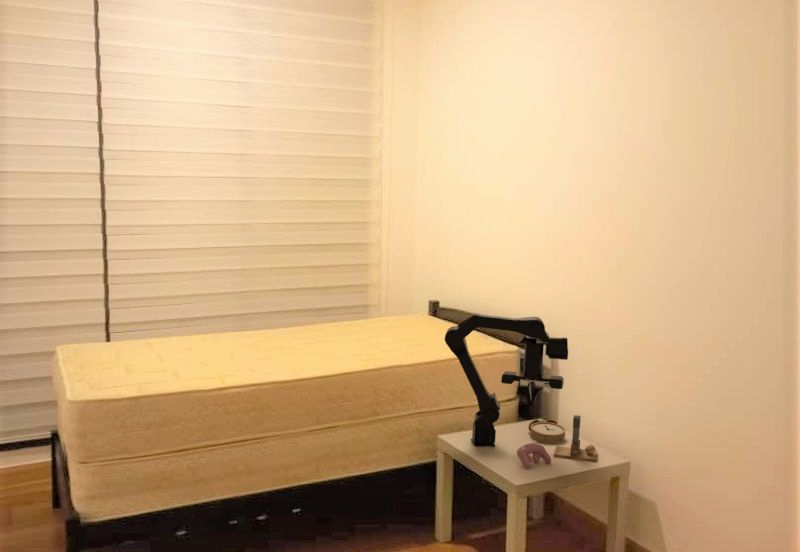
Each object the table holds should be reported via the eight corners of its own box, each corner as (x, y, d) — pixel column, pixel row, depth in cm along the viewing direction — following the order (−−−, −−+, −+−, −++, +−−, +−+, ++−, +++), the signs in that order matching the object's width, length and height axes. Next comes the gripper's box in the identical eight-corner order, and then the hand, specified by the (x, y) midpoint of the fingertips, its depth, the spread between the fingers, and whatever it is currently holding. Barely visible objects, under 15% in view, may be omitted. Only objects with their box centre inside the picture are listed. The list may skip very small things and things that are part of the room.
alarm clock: (535, 435, 238) (524, 413, 252) (534, 449, 239) (523, 426, 253) (570, 435, 239) (557, 413, 253) (568, 449, 240) (555, 427, 254)
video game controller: (543, 465, 224) (537, 442, 226) (553, 463, 220) (547, 439, 222) (518, 471, 218) (512, 447, 220) (528, 468, 215) (522, 444, 217)
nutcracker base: (553, 456, 227) (554, 443, 226) (556, 448, 234) (556, 436, 234) (596, 462, 223) (597, 449, 223) (597, 453, 231) (597, 440, 230)
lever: (571, 451, 227) (573, 418, 226) (572, 448, 231) (574, 415, 229) (578, 452, 227) (580, 418, 226) (578, 448, 230) (580, 415, 229)
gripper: (566, 355, 237) (563, 403, 239) (507, 350, 242) (505, 397, 244) (563, 362, 226) (560, 412, 228) (502, 357, 232) (500, 406, 233)
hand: (531, 406), depth 234 cm, fingers closed
